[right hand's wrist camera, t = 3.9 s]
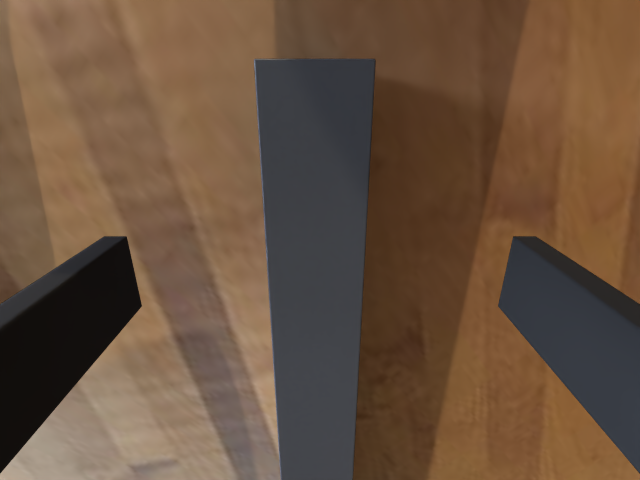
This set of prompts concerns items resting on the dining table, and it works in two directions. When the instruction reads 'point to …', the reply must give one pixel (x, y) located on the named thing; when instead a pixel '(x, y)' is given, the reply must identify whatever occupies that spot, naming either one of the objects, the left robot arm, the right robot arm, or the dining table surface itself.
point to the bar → (315, 251)
